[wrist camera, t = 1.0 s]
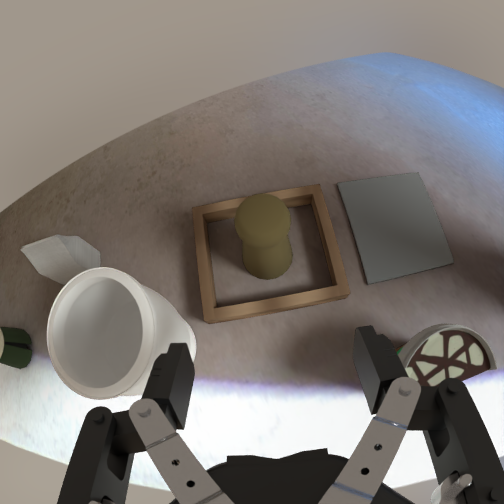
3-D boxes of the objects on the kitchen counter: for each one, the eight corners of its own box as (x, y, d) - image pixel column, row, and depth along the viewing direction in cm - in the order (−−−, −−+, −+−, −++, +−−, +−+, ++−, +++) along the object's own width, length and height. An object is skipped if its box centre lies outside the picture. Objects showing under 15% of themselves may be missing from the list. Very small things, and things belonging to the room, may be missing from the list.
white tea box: (100, 277, 38) (56, 251, 29) (64, 285, 38) (18, 262, 29) (100, 252, 40) (59, 221, 30) (64, 261, 40) (22, 235, 30)
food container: (445, 323, 32) (491, 306, 22) (453, 370, 30) (500, 367, 20) (356, 345, 32) (383, 337, 23) (363, 397, 30) (393, 408, 21)
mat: (417, 173, 39) (418, 172, 39) (452, 263, 34) (454, 262, 34) (337, 184, 40) (337, 183, 39) (367, 284, 35) (368, 283, 34)
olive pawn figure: (298, 239, 37) (303, 192, 27) (283, 286, 36) (284, 252, 25) (251, 226, 39) (240, 176, 28) (235, 270, 37) (216, 233, 27)
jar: (158, 406, 32) (86, 424, 18) (110, 340, 35) (30, 320, 21) (224, 351, 34) (183, 342, 20) (170, 287, 37) (109, 239, 23)
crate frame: (317, 194, 39) (319, 183, 37) (345, 298, 34) (350, 293, 32) (197, 216, 40) (192, 207, 38) (209, 324, 35) (204, 320, 33)
